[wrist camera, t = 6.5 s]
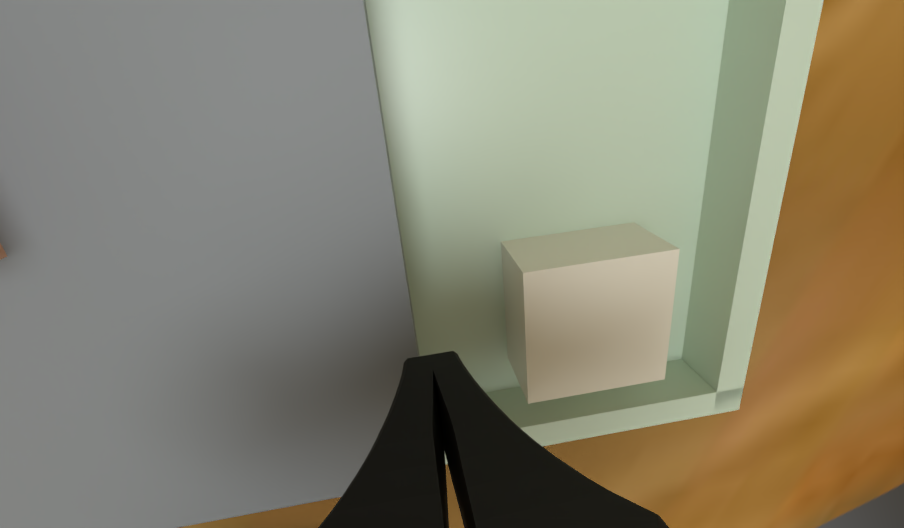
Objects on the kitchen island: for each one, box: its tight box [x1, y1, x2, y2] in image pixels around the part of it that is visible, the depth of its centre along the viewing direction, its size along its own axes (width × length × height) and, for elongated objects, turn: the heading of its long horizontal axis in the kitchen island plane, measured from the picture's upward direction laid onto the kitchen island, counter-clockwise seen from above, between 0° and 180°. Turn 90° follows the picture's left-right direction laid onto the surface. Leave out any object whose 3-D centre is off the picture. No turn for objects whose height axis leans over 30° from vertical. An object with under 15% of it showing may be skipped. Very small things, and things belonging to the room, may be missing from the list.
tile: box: [501, 222, 680, 404], centre depth 14 cm, size 4×4×2 cm
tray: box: [365, 0, 823, 464], centre depth 13 cm, size 16×11×2 cm
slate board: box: [0, 0, 419, 528], centre depth 12 cm, size 16×16×3 cm
